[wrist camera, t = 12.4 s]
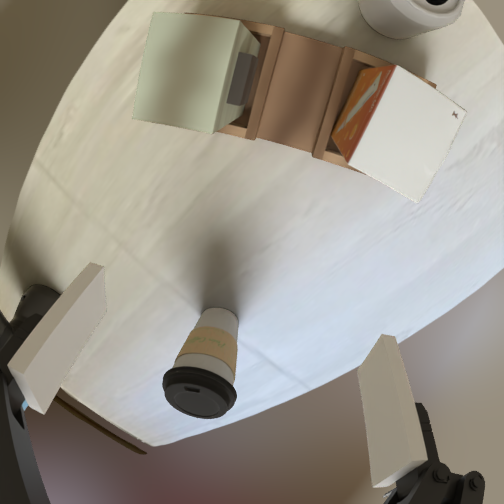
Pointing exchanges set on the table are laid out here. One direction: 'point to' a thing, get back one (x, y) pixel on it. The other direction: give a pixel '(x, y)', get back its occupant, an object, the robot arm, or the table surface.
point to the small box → (397, 129)
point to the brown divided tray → (247, 81)
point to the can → (409, 16)
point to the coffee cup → (205, 367)
